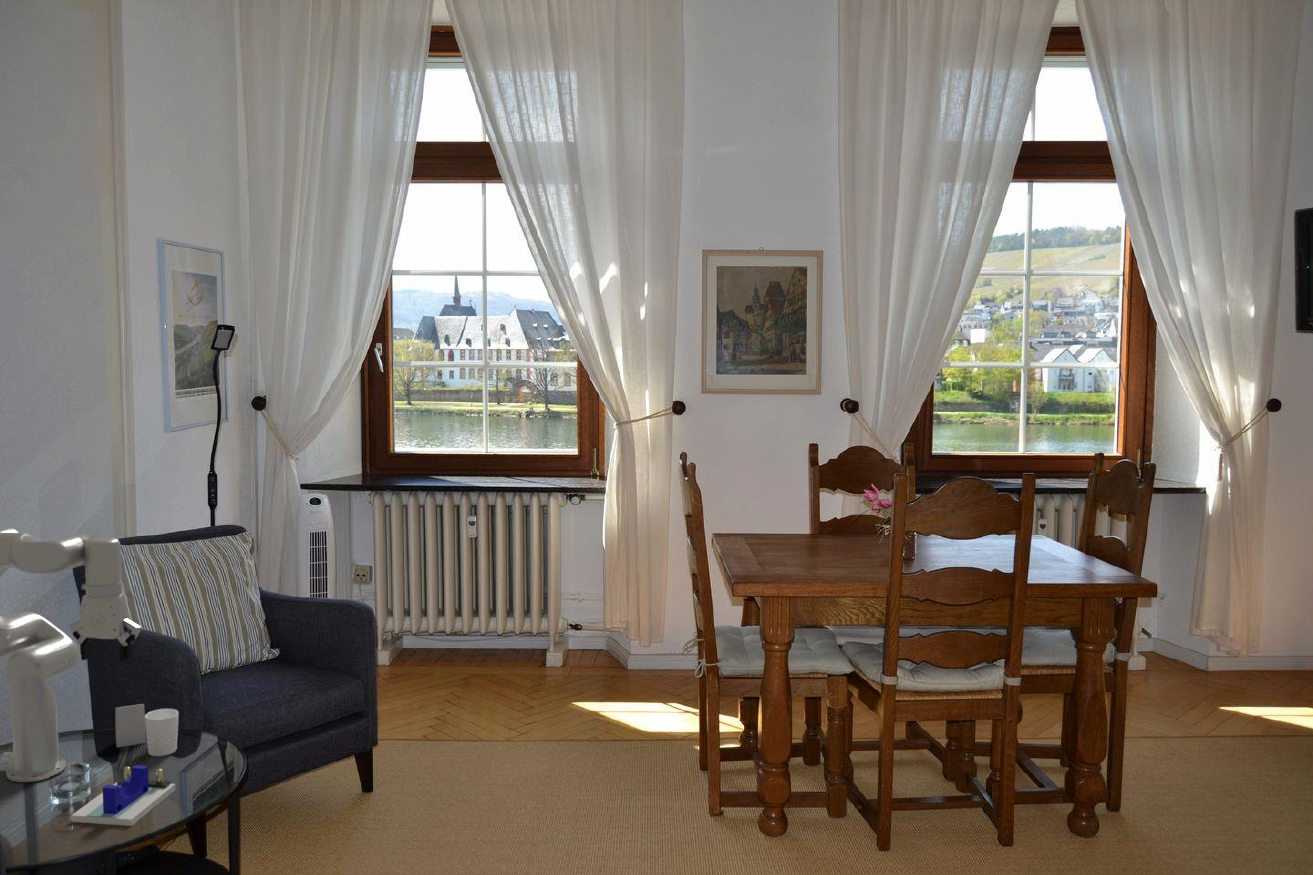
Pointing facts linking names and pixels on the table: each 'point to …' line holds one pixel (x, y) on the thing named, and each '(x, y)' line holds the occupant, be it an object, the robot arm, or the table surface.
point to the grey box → (130, 725)
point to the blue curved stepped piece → (126, 791)
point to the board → (125, 816)
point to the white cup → (161, 731)
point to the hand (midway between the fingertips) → (106, 659)
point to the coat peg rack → (152, 783)
